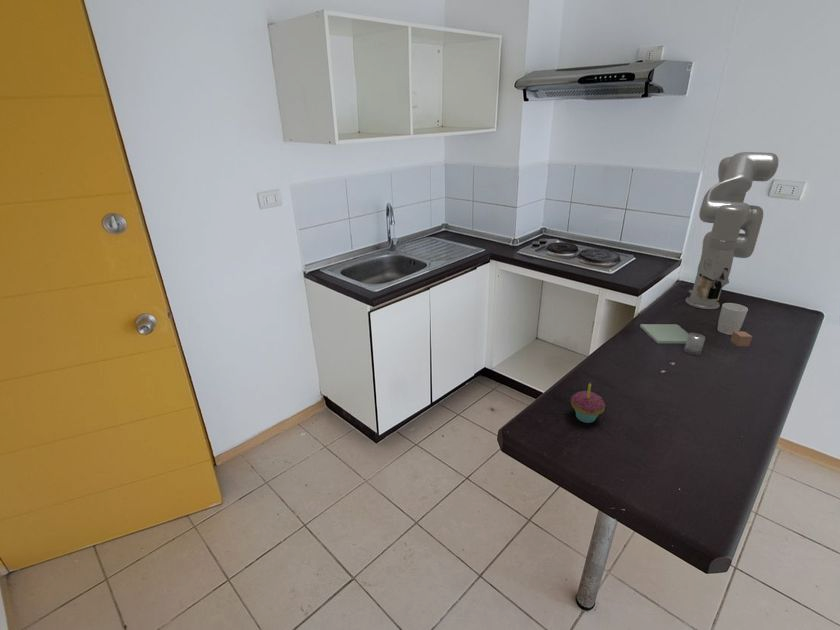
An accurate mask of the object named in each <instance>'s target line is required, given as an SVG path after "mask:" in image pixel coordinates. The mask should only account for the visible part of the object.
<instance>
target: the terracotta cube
mask: <svg viewBox="0 0 840 630" xmlns="http://www.w3.org/2000/svg"><path fill="white" fill-rule="evenodd" d="M752 339H753V336H752V335H750V333H748V332H746V331H742V330H741V331H740V330H739V331H733V334H732V335H731V337H730V342H731V344H734V345H735V346H736V347H737V348H738V347H741V348H742V347H745V348H746V347H750V345H751V342H752Z"/></svg>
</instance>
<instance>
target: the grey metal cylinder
mask: <svg viewBox="0 0 840 630" xmlns="http://www.w3.org/2000/svg"><path fill="white" fill-rule="evenodd" d="M705 340H706V336H705V335H703V334H702V333H701V334H700V333H698V332H697V333H696V332H689V333H688V337H687V341H686V344H685V345H684V348H683V351H684V352H685V353H687V354H688V355H693V356H699V355H700V356H701V354H702V350H703V347H704V344H705Z"/></svg>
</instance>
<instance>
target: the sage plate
mask: <svg viewBox="0 0 840 630" xmlns="http://www.w3.org/2000/svg"><path fill="white" fill-rule="evenodd" d="M639 327H640V329H642V330H643V331H644V332H645V333H646V334H647V335H648V336H649V337H650V338H651V339H652V340H653V341H654V342H656V344H681V345H682V344H685V345H686V341H687V337H688V334H689V333H688V332H687V331H686V330H685V329H684V328H682V327H681V326H680V325H678V324H675V323H674V324H673V323H672V324H670V323H669V324H668V323H667V324H664V323H663V324H661V323H660V324H659V323H657V324H656V323H655V324H654V323H653V324H652V323H651V324H649V323H648V324H645V323H641V324H640V325H639Z"/></svg>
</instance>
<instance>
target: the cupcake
mask: <svg viewBox="0 0 840 630" xmlns="http://www.w3.org/2000/svg"><path fill="white" fill-rule="evenodd" d="M591 389H592V383H591V382H589V383H588V387H587V391H586V390H582V391H577V392H575V393H574V394H573V395H571V398H570V404H571V405H572V406H571V407H572V408H573V409H574V410H575V411H574V412H575V416H576V418H577V420H578V421H580V422H583V423H586V424H590V423H594V422H595V421H596V419H597V418H598V417H599V415H601V414H603V413H604V412H605V408H606V403H605V401H604V399H603V397H601V396H600V395H598V394H597V393H595V392H593V391H592V390H591Z"/></svg>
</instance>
